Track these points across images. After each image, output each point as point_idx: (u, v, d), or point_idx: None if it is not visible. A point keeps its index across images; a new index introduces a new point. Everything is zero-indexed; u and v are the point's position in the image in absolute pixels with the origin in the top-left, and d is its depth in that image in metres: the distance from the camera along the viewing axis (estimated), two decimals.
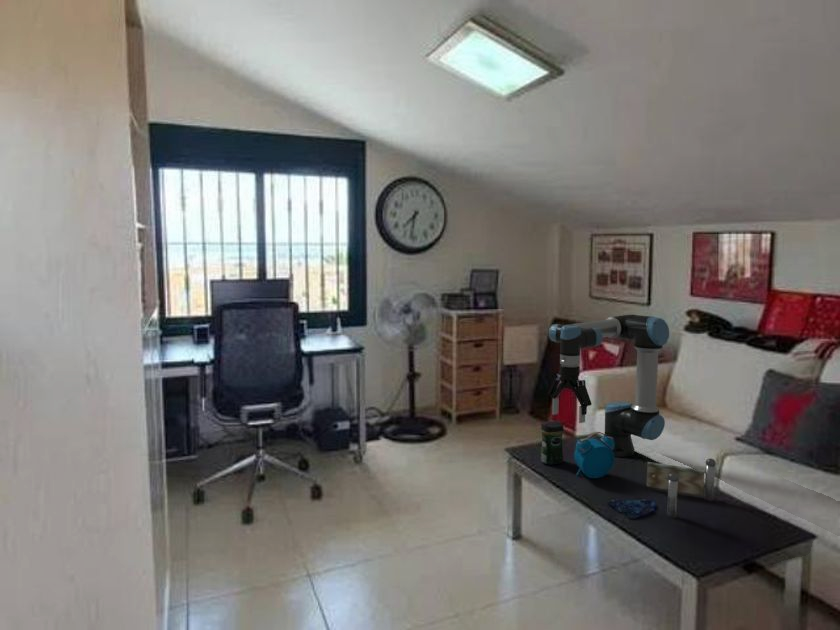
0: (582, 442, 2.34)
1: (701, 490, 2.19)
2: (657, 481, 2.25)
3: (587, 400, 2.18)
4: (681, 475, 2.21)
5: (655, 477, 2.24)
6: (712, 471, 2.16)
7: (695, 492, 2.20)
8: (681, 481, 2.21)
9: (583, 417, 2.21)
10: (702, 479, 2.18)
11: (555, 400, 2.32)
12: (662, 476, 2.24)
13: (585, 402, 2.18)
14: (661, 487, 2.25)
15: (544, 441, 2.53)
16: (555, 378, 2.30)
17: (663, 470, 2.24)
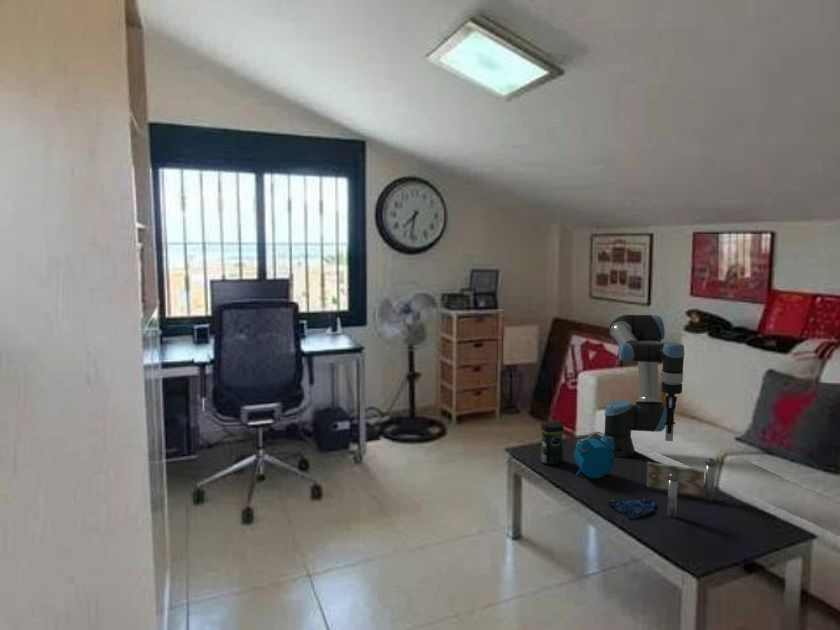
0: (582, 442, 2.34)
1: (701, 490, 2.19)
2: (657, 481, 2.25)
3: (668, 421, 2.25)
4: (681, 475, 2.21)
5: (655, 477, 2.24)
6: (712, 471, 2.16)
7: (695, 492, 2.20)
8: (681, 481, 2.21)
9: (670, 436, 2.29)
10: (702, 479, 2.18)
11: None
12: (662, 476, 2.24)
13: (666, 421, 2.26)
14: (661, 487, 2.25)
15: (544, 441, 2.53)
16: None
17: (663, 470, 2.24)
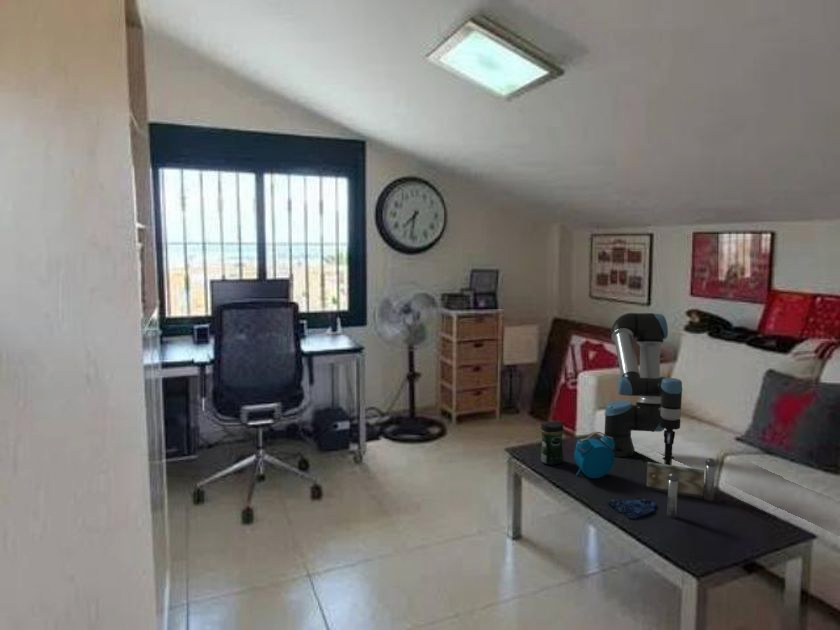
0: (582, 442, 2.34)
1: (701, 490, 2.19)
2: (657, 481, 2.25)
3: (666, 456, 2.27)
4: (681, 475, 2.21)
5: (655, 477, 2.24)
6: (712, 471, 2.16)
7: (695, 492, 2.20)
8: (681, 481, 2.21)
9: None
10: (702, 479, 2.18)
11: None
12: (662, 476, 2.24)
13: None
14: (661, 487, 2.25)
15: (544, 441, 2.53)
16: None
17: (663, 470, 2.24)
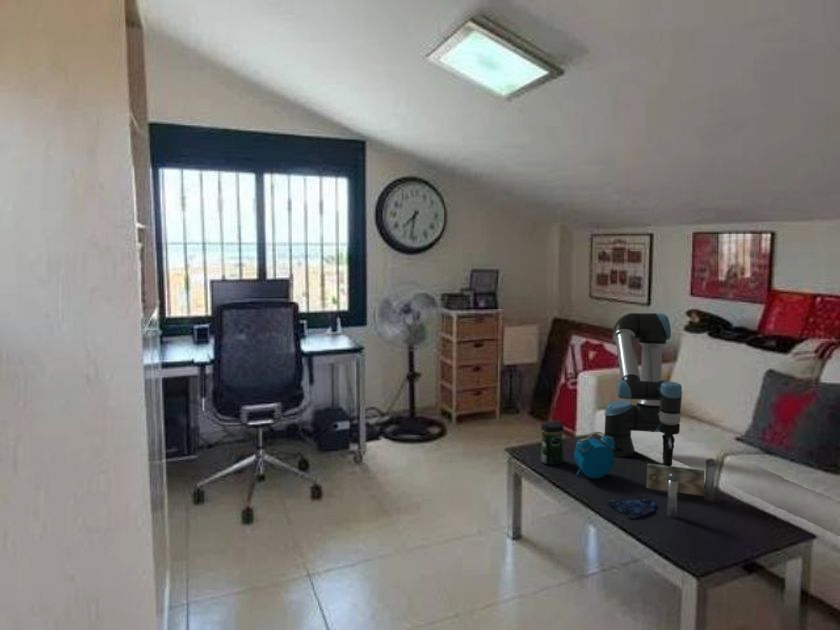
0: (582, 442, 2.34)
1: (701, 490, 2.18)
2: (657, 482, 2.24)
3: (667, 461, 2.23)
4: (681, 475, 2.20)
5: (655, 479, 2.22)
6: (712, 471, 2.16)
7: (695, 492, 2.19)
8: (681, 482, 2.21)
9: None
10: (702, 480, 2.18)
11: None
12: (662, 477, 2.23)
13: (665, 461, 2.24)
14: (661, 488, 2.24)
15: (544, 441, 2.53)
16: None
17: (663, 471, 2.23)
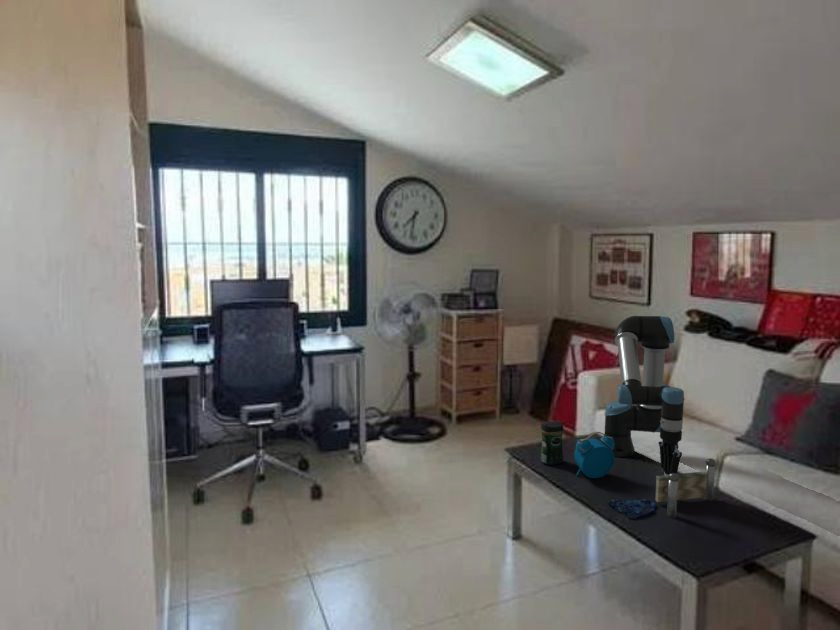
0: (582, 442, 2.34)
1: (704, 492, 2.17)
2: (667, 494, 2.14)
3: (673, 470, 2.14)
4: (687, 481, 2.15)
5: None
6: (712, 471, 2.16)
7: (699, 495, 2.17)
8: (688, 488, 2.15)
9: None
10: (705, 481, 2.16)
11: (667, 474, 2.19)
12: None
13: (670, 470, 2.15)
14: None
15: (544, 441, 2.53)
16: (660, 445, 2.22)
17: None
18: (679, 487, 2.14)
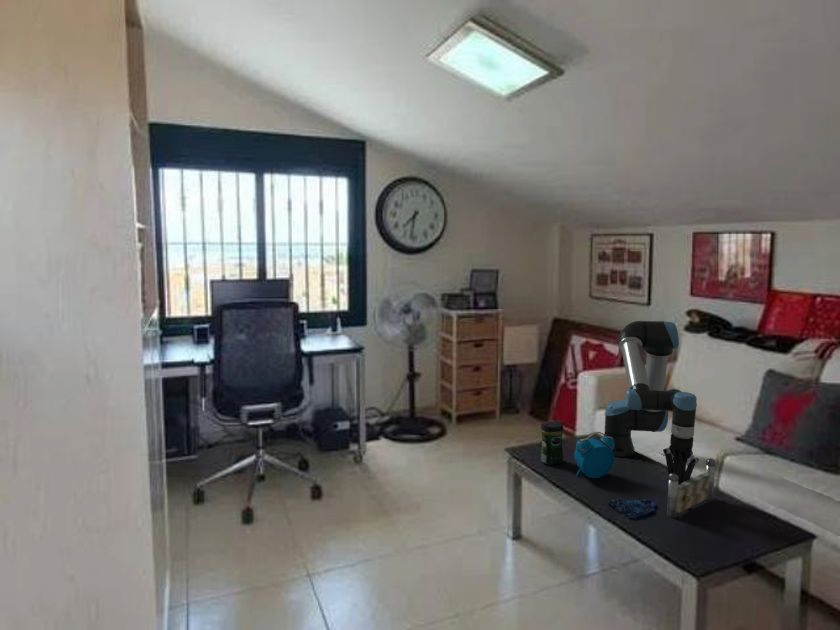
0: (582, 442, 2.34)
1: (707, 493, 2.16)
2: (685, 502, 2.07)
3: (688, 477, 2.08)
4: (698, 486, 2.11)
5: (689, 499, 2.05)
6: (712, 471, 2.16)
7: (704, 497, 2.15)
8: (698, 492, 2.12)
9: None
10: (708, 482, 2.15)
11: (678, 482, 2.12)
12: (688, 495, 2.07)
13: (684, 478, 2.08)
14: (687, 507, 2.08)
15: (544, 441, 2.53)
16: (666, 452, 2.14)
17: (689, 488, 2.07)
18: (693, 493, 2.09)
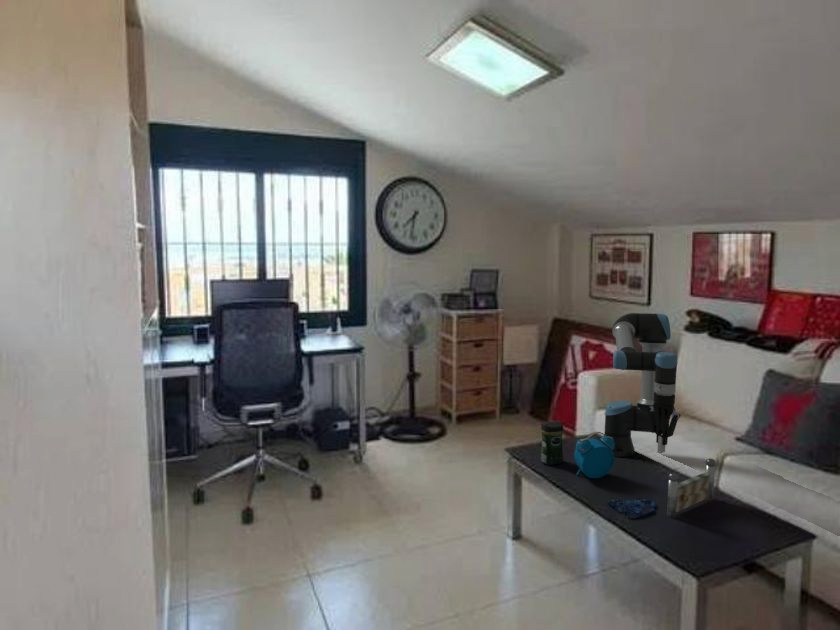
0: (582, 442, 2.34)
1: (707, 493, 2.16)
2: (683, 502, 2.07)
3: (671, 432, 2.18)
4: (697, 485, 2.11)
5: (687, 498, 2.05)
6: (712, 471, 2.16)
7: (704, 497, 2.15)
8: (697, 492, 2.12)
9: (663, 447, 2.22)
10: (708, 482, 2.16)
11: None
12: (686, 494, 2.08)
13: (668, 433, 2.18)
14: (685, 506, 2.08)
15: (544, 441, 2.53)
16: (649, 410, 2.24)
17: (687, 488, 2.08)
18: (691, 493, 2.10)
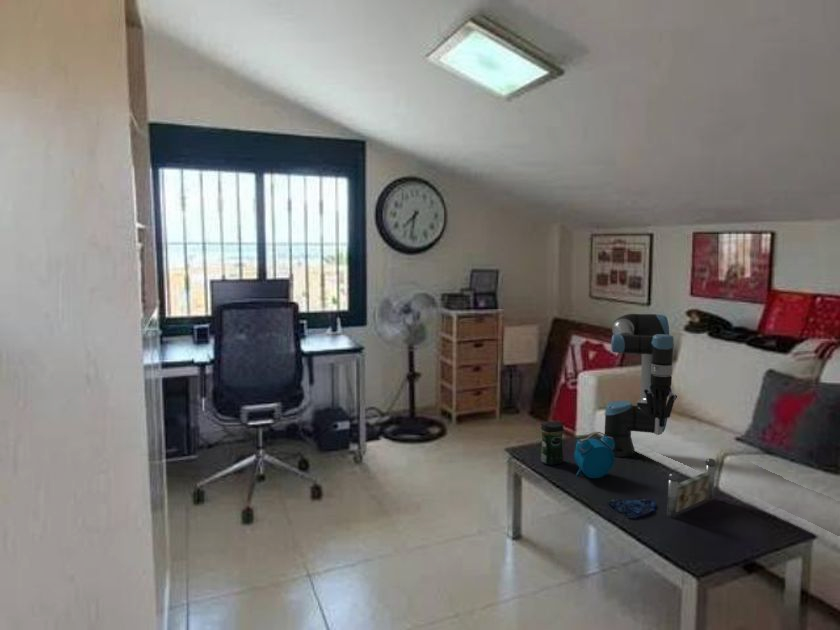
0: (582, 442, 2.34)
1: (707, 493, 2.16)
2: (683, 502, 2.07)
3: (668, 414, 2.21)
4: (697, 485, 2.11)
5: (687, 498, 2.05)
6: (712, 471, 2.16)
7: (704, 497, 2.15)
8: (697, 492, 2.12)
9: (660, 429, 2.25)
10: (708, 482, 2.16)
11: None
12: (686, 494, 2.08)
13: (665, 415, 2.21)
14: (685, 506, 2.08)
15: (544, 441, 2.53)
16: (646, 392, 2.27)
17: (687, 488, 2.08)
18: (691, 493, 2.10)
